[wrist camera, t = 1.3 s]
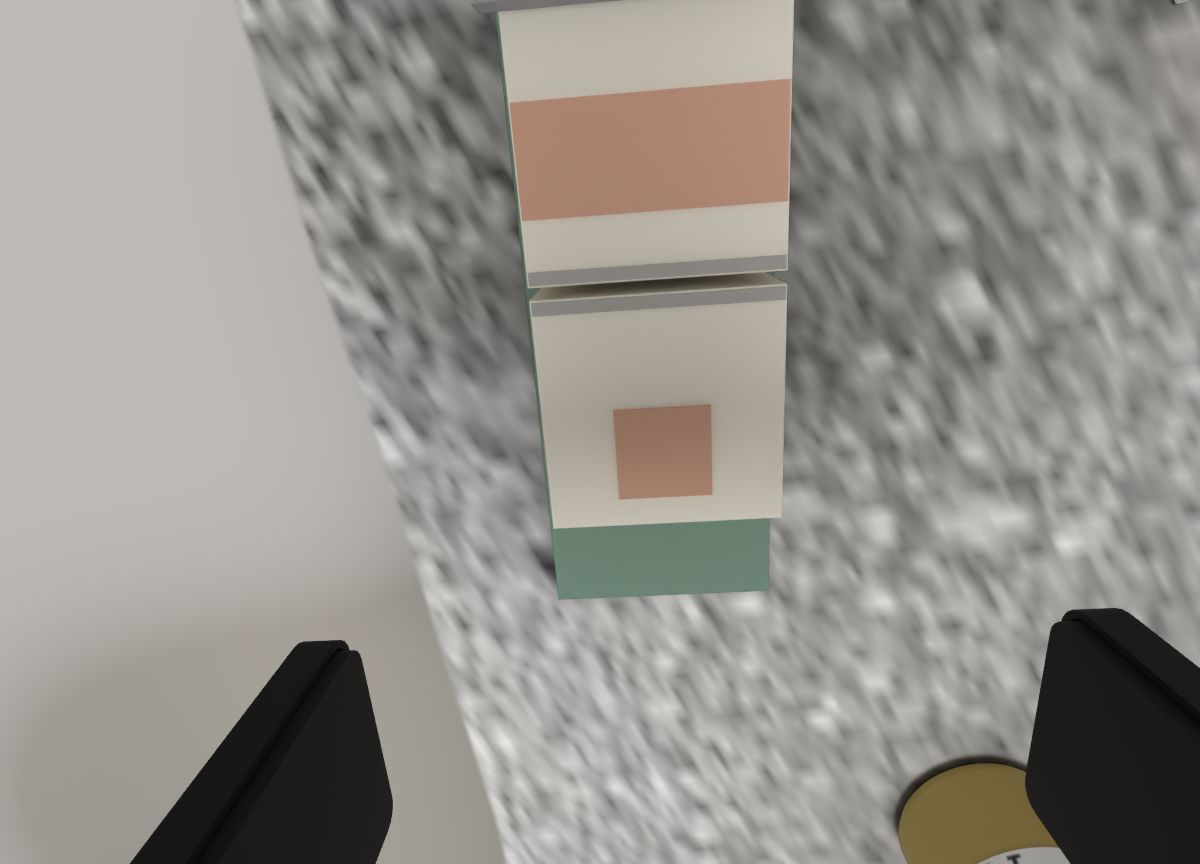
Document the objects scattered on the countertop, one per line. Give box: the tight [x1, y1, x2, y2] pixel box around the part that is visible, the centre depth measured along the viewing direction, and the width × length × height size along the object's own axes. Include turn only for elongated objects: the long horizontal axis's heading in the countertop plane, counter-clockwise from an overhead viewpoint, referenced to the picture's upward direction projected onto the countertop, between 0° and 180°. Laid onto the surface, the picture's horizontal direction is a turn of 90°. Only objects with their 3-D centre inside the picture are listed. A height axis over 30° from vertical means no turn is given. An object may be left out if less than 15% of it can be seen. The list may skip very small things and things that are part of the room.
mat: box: [495, 12, 774, 600], centre depth 21 cm, size 23×8×1 cm, turn 4°
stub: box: [529, 272, 787, 529], centre depth 19 cm, size 6×6×6 cm
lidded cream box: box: [471, 0, 794, 288], centre depth 16 cm, size 7×7×7 cm
